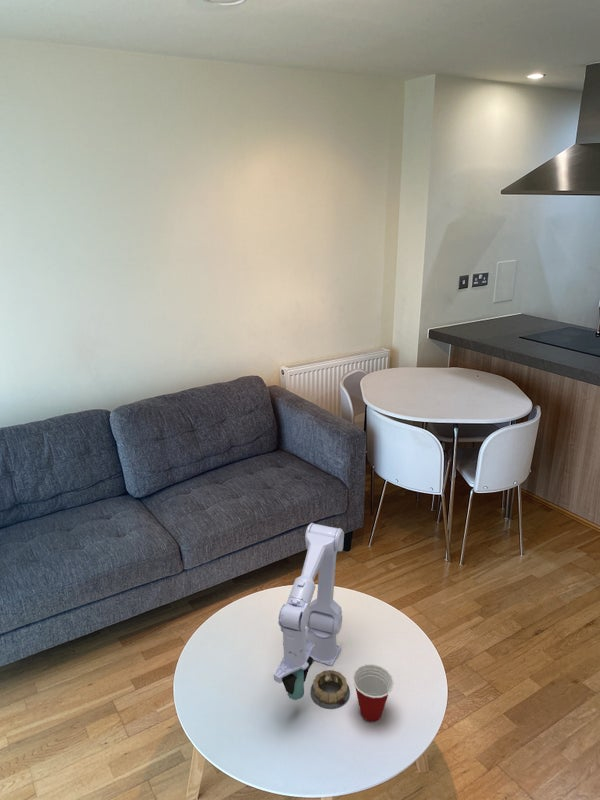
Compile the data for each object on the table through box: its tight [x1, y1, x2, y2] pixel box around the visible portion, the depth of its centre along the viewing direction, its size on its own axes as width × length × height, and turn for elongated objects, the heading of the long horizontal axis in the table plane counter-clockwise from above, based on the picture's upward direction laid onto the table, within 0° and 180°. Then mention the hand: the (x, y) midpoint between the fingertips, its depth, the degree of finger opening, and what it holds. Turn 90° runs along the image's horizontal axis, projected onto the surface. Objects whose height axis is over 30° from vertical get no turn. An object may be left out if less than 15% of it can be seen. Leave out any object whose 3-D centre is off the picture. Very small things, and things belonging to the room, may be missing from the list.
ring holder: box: [310, 669, 351, 710], centre depth 165 cm, size 11×11×3 cm
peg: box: [287, 669, 305, 701], centre depth 156 cm, size 4×4×8 cm
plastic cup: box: [352, 663, 395, 723], centre depth 157 cm, size 11×11×12 cm
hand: (295, 686), depth 157 cm, fingers closed on peg, 4 cm apart
